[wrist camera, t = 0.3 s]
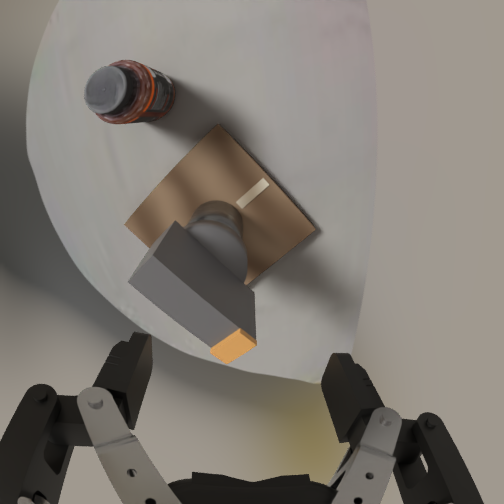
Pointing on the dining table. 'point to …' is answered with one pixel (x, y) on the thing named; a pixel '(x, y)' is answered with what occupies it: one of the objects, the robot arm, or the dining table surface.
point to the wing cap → (202, 285)
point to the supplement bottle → (129, 93)
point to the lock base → (226, 184)
